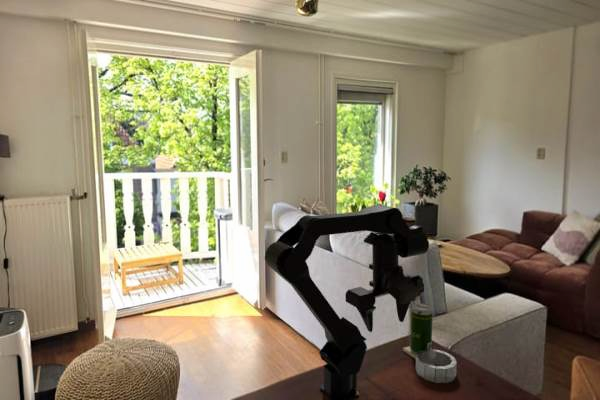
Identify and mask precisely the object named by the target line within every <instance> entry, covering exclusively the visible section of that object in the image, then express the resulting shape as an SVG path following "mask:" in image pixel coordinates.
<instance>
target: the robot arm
mask: <svg viewBox="0 0 600 400" xmlns="http://www.w3.org/2000/svg"><path fill="white" fill-rule="evenodd" d="M359 232H370V233H369V235H367V236H366V237H365V238H364V239H363V243H365V244H368V245H370V246H371V245H372V247H371V249H372V254H371V255H372V263H368V268H369V269H370V270H372V280H370V281H369V282H368V285H369V287H371V288H372V289H366V288H364V287H363V286H358V287H354V288H349V289H347V290H346V292H345V302H346V303H347V304H350V305H351V306H353V307H354V308H356V309H357V311H358V313H359V315H360V317H361V319H362V321H363V323H364V325H365V327H366V329H367V331H368V332H369V333H373V328H374V318H373V317H374V311H375V310H376V309H377V307H376V306H375V303H376V298H380V297H384V296H387V295H388V296H389V295H390V296H391V297H392V298H393V299H394V300H395V306H396V313H397V317H398V321H399V322H401V323H403V322H404V321H405V318H406V316H407V312H408V311H409V307H410V306H411V303H413V302H415V301H416V300H417V298H418V297H420V295H421V294H422V293H425V283H424V278H423V277H422V276H420V275H417V274H416V275H411V274H405V273H404V268H403V266H401V265H400V264H399V257H400V258H402V259H405V258H406V259H407V258H411V257H415V256H420V255H425V254H426V253H427V252H428V251H429V248H430V242H429V239H428V237H427V235H426V234H425V232H424V231H423V226H420V225H412V226H409V225H408V224H407V223H406V221H405V219H404V217H403V214H402V211H400V209H399V208H398V207H393V206H388V205H383V204H377V203H376V204H373V205H370V206H367V207H364V208H363V209H361V210H359V211H354V212H352V211H350V212H342V213H341V212H339V213H332V214H331V213H330V214H320V215H310V214H306V215H304V216H301V217H300V218H299V220H298V221H297V222H296V223H295V224H294V225H293V226H291V227H290V228H289V229H288V230H286V231H284V232H283V233H282V234H281V235H279V238H278V239H277V240H276V241H275V242H272V243H271V244H270V245H269V246H268V247H267V248H266V251H265V253H264V261H265V262H266V265H267V266H268V267H269V268H271V269H272V270H273V271H274V272H275V273H276V274H277V275H278V276H280V277H281V278H282V279H283V280H284V281H286V282H287V283H288V284H289V285H290V286H291V287H292V288H293V290H294V291H295V293H296V294H297V295H298V296H299V297H300V299H301V300H302V302H303V303H304V305H305V306H306V307H307V308H308V310H309V311H310V313H311V314H312V315H313V316H314V318H315V319H316V320H317V321H318V323H319V325H321V327H322V329H323V330H324V335H325V338H326V343H325V344H324V345H323V346H322V348H321V349H320V351H318V352H319V356H320V359H321V360H322V361H323V362H325V363H326V364H323V365H324V366H323V384H321V385H320V390H322V392H323V393H324V394H325V395H326V397H328V398H329V399H330V400H349V399H352V398H356V397H359V396H360V393H359V391H358V390H357V386H358V374H359V373H360V370H361V369H362V364H363V361H364V358H365V354H366V353H367V352H366V351H367V348H368V346H367V343H366V341H367V338H366V336H364V335H362V334H361V331H360V329H359V327H358V326H357V325H355V324H354V323H353V322H351V321H350V320H348V319H347V318H345V317H344V316H342V317H341V318H340V316H339V315H338V314H337V312H336V311H335V310H334V308H333V307H332V305H331V303H330V302H329V301H328V300H327V299H326V297H325V296H324V294H323V292H321V290H320V289H319V287H318V285H316V284H315V282H314V281H313V279H312V276H311V275H310V270H309V269H310V268H309V266H308V263H307V260H308V259H309V258H310V257H311V256H312V253H313V251H314V248H315V247H316V243H317V241H318V239H319V238H320V237H321V236H322V237H323V236H328V235H329V236H330V235H331V236H332V235H339V234H348V233H359ZM378 233H379V234H378Z"/></svg>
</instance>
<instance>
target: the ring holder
mask: <svg viewBox="0 0 600 400" xmlns="http://www.w3.org/2000/svg"><path fill="white" fill-rule="evenodd" d="M457 362H458V361H457V359H456V358H455V357H454V355H452V354H451V353H448V352H446V351H443V350H439V349H432V348H431V349H426V350H422V351H420V352H418V353H417V355H416V359H415V371H416V374H417V375H418V376H419V377H421V378H422V379H423V380H426V381H429V382H432V383H436V384H447V383H450V382H453V381H455V379H456V377H457V367H458V366H457V365H458V364H457Z"/></svg>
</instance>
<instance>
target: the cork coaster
mask: <svg viewBox="0 0 600 400" xmlns="http://www.w3.org/2000/svg"><path fill="white" fill-rule="evenodd" d="M402 352H404V353H406V354H407V355H408V356H409V357H411V358H412V359H414V360H416V355H417V354H414V353H413V352H412V351H411V349H410V345H408V346H405V347H402Z"/></svg>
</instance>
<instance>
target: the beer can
mask: <svg viewBox="0 0 600 400" xmlns="http://www.w3.org/2000/svg"><path fill="white" fill-rule="evenodd" d="M411 307H412V308H411V309H410V331H409V333H410V334H409V335H410V336H409V337H410V338H409V346H410V349H411V351H412V352H413V353H414V354H417V353H418V352H420V351H422V350H426V349H432V345H433V344H432V338H433V318H434V312H433V307H432V306H431V305H429V304H426V303H414V304H412V306H411Z"/></svg>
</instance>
